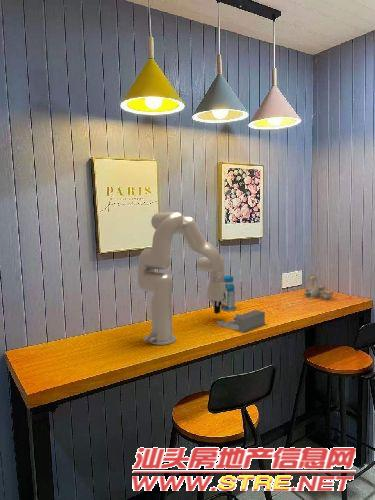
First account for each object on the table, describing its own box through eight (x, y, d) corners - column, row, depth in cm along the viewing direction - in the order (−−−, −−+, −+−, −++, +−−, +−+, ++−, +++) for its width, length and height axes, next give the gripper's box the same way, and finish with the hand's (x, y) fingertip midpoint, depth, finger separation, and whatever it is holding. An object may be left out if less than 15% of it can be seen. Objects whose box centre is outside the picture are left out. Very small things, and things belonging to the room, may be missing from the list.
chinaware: (337, 303, 234) (340, 278, 233) (311, 302, 234) (314, 276, 233) (321, 294, 262) (323, 271, 261) (297, 292, 262) (300, 269, 260)
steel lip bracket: (243, 332, 179) (243, 319, 178) (216, 325, 192) (215, 313, 191) (264, 324, 191) (264, 312, 191) (237, 318, 204) (237, 306, 203)
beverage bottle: (234, 311, 218) (233, 277, 216) (220, 311, 220) (219, 277, 218) (235, 307, 226) (235, 275, 224) (221, 307, 228) (221, 275, 226)
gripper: (202, 278, 203) (202, 311, 204) (223, 281, 192) (223, 316, 193) (211, 277, 208) (211, 309, 209) (232, 280, 197) (232, 314, 198)
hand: (217, 312), depth 201 cm, fingers closed
